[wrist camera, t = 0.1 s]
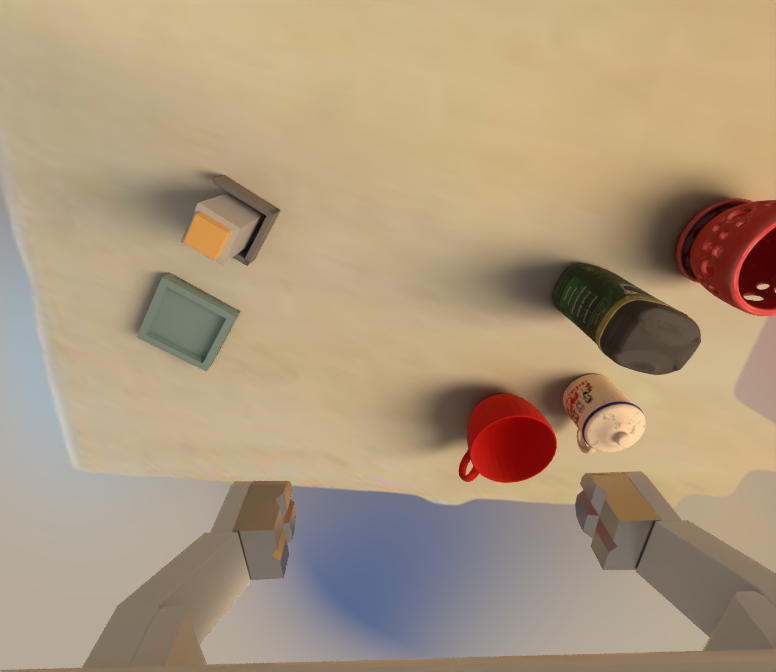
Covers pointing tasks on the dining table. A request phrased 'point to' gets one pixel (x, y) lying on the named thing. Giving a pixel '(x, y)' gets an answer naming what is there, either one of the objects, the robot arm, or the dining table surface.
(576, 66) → the dining table surface
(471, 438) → the ceramic cup
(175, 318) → the tray
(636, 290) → the coffee jar
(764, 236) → the plant pot
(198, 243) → the grey pillar orange cap
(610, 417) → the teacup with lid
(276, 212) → the bay
